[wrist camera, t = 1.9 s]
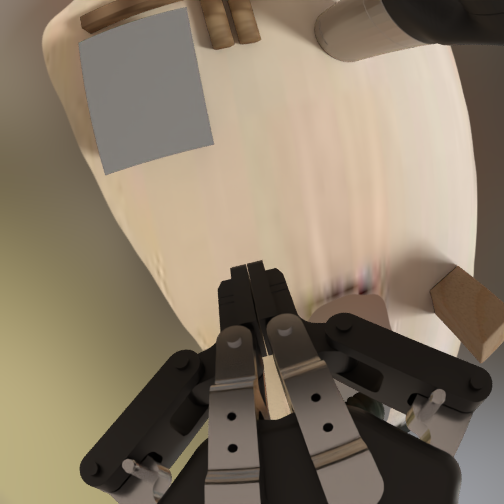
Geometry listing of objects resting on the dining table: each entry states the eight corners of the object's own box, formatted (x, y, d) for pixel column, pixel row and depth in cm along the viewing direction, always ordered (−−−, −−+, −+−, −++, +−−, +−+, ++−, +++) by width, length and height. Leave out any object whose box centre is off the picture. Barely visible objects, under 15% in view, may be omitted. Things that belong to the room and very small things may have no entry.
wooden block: (457, 264, 55) (514, 310, 37) (461, 290, 59) (509, 335, 41) (429, 290, 56) (483, 344, 38) (434, 314, 60) (480, 365, 43)
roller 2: (240, -13, 27) (246, -21, 24) (256, 42, 31) (264, 37, 29) (221, -11, 26) (226, -20, 24) (237, 45, 31) (243, 39, 28)
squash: (327, 412, 61) (347, 458, 56) (380, 386, 61) (398, 431, 56) (321, 403, 74) (338, 443, 69) (366, 381, 74) (382, 421, 69)
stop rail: (182, -11, 25) (181, -21, 22) (185, -1, 26) (184, -11, 23) (88, 23, 25) (80, 17, 22) (90, 33, 26) (81, 27, 23)
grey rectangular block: (190, 33, 29) (186, 7, 20) (211, 139, 36) (214, 144, 28) (105, 58, 28) (78, 42, 19) (127, 161, 36) (105, 175, 27)
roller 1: (216, -9, 27) (219, -17, 24) (232, 47, 31) (236, 41, 29) (196, -6, 26) (198, -14, 24) (211, 51, 31) (215, 45, 28)
